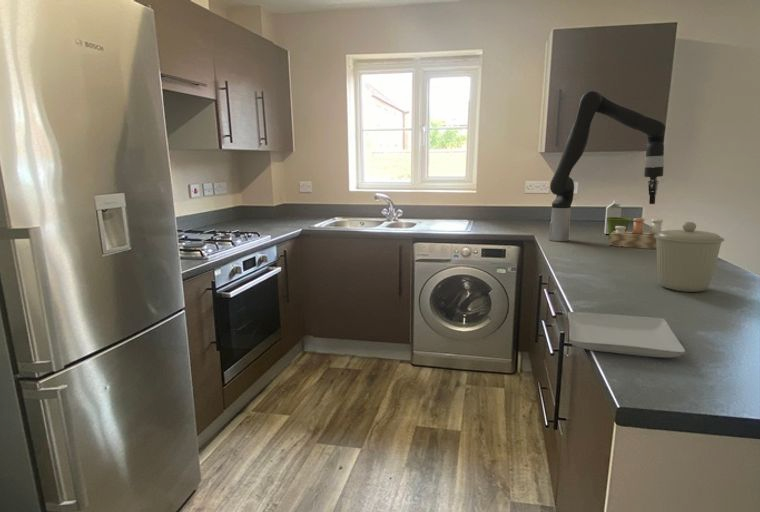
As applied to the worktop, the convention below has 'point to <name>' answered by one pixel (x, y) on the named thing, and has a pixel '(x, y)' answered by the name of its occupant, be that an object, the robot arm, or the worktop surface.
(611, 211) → the milk carton
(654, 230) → the cream plug right
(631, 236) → the woven basket
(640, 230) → the terracotta plug
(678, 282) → the canister
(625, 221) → the plant pot
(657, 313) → the worktop surface
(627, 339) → the salad plate
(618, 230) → the cream plug left
